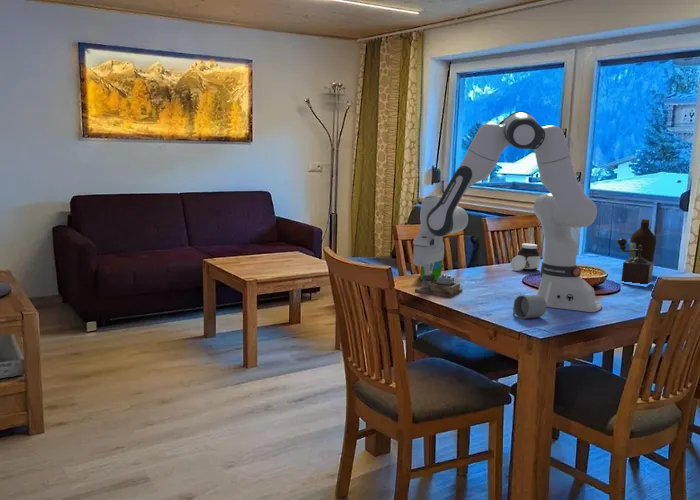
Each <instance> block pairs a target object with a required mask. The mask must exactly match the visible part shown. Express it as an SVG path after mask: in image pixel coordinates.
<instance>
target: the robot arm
mask: <svg viewBox="0 0 700 500" xmlns="http://www.w3.org/2000/svg"><path fill="white" fill-rule="evenodd" d="M567 142H568V141H567V139H566V136H565V135H564V131H563V129H562V128H561V127H559V126H557V125H554V124H553V125H552V124H551V125H546V126H545V125H544V126H541V125H540V124H539V123H538V121H537V120H536V118H535V117H534V116H532V115H531V114H530V113H529V112H526V111H519V110H518V111H515V112H513V113H511V114H508V116H506V117H505V118H504V119H503V120H501V121H500V122H499V123H495V122H487V123H484V124H482V125H481V126H480V128H479V129H478V130H477V132H476V134H475V136H474V137H473V139H472V140H471V142H470V144H469V147H468V149H467V151H466V153H465V155H464V157H463V159H462V160H461V163H460V164H459V166H458V168H456V169H457V170H456V171H455V172H454V174H453V175H452V177H451V178H450V181H449V183H448V184H447V187H446V188H445V190H444V192H443V193H442V195H438V194H437V195H430V196H425V197H423V199H422V201H421V205H420V211H419V212H420V213H419V220H420V226H419V230H418V234H417V235H416V237H414V238H413V241H412V244H413V245H414V246H413V254H412V255H413V256H412V257H413V258H412V259H413V260H412V261H413V262H412V263H413V264H414V266H416V267H421V266H424V270H425V275H431V274H432V270H433V267H434V262H437V261H440V260H442V261H443V260H444V258H445V243H444V241H443V237H444V236H447V235H449V234H454V233H460V232H461V231H463V230H465V229H466V228H467V227H468V225H469V219H470V218H469V213H468V212H467V211H466V209H465V208H463V207H461V206H459V203H460V202H461V201H462V198H463V196H464V194H465V193H466V192H467V190H468V189H470V188H471V187H473V186H474V185H475V184H476V183H479V182H481V181H483V180H484V179H487V178H488V177H489V176H490V174H491V173H492V172H493V170H494V169H495V168H496V165H497V164H498V161H499V159H500V157H501V154H502V153H503V151H504V150H505V149H506V148H507V147H509V146H510V145H511V146H512V147H514V148H516V149H521V150H533V151H534V155H535V158H536V164H537V167H538V173H539V177H540V181H541V184H542V185H543V186H544V187H545V188H546V189H547V191H548V192H549V193H548V192H547V193H543V194H540V195H538V196H537V197H536V199H535V201H534V204H533V211H534V215H535V216H536V217H537V219H538V220H539V223H540V226H541V228H542V233H543V239H544V240H543V241H544V245H543V260H542V262H541V266H540V282H539V287H538V290H537V293H536V295H537V296H541V297H542V298H543V299H544V300H545V302H546V308H553V309H563V310H571V311H579V312H588V313H594V312H598V311H600V310H601V309H602V303H600V302H599V301H596V292H595V289H594V287H592V285H590V283H588V282H587V281H586V280H585V279H584V278H582V276H581V274H582V267H581V266H578V265H576V263H577V254H578V253H577V252H578V241H576V239H575V238H574V237H573V235H572V232H571V229H570V228H574V229H575V228H576V229H577V228H587V227H590V226H591V225H593V223H595V220H596V218H597V215H598V207H597V205H596V203H595V202H594V201H593V200H591V198H590V197H589V196H587V194H586V193H585V191H584V190H583V188H582V187H581V184H580V182H579V181H578V179H577V177H576V174H575V171H574V166H573V162H572V158H571V157H572V156H571V152H570V149H569V145H568V143H567Z"/></svg>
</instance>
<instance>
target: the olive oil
mask: <svg viewBox="0 0 700 500" xmlns="http://www.w3.org/2000/svg"><path fill="white" fill-rule="evenodd" d="M649 227H650V219H648V218H647V219H646V218H642V219H641V221H640V227H639V228H638V229H637V230H636V231H634V232H633V233H632V234H631V236H630V239H629V250H636V249H638V248H639V245H642V250H641V256H642V258H644V259H646V260H647V261H649V262H653V261H654V255H655V250H656V245H657V239H656V235H655V234H654V233H653V232H652V231H651V229H650V228H649ZM638 254H639V251H634V252H628V259H632V258H635V257H638Z"/></svg>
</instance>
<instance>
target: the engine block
mask: <svg viewBox="0 0 700 500" xmlns="http://www.w3.org/2000/svg"><path fill="white" fill-rule="evenodd" d="M436 281H437V284H439V285H445V286H453V285H454V283H455V276H451V275H449V274H448V275H447V274H441V276H439V277H438V280H436Z"/></svg>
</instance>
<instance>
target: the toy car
mask: <svg viewBox="0 0 700 500" xmlns="http://www.w3.org/2000/svg"><path fill="white" fill-rule="evenodd" d="M442 268H444V265H443V260H440V261H437V262H434V267H433V270H432V275H435V280H434V281H437V280H438V277H439V276H442V270H443V269H442ZM423 274H425V270H424V266H420V281H421V282H422V280H423V279H422V276H423Z"/></svg>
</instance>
